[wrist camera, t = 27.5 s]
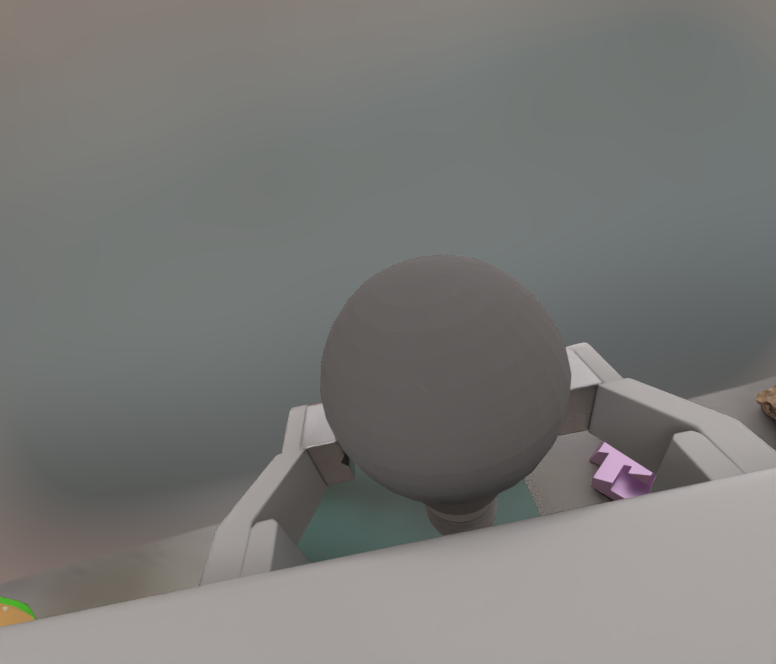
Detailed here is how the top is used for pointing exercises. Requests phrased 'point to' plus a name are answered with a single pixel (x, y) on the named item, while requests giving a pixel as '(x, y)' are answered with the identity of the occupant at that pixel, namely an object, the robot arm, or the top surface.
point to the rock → (768, 401)
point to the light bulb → (445, 385)
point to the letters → (619, 474)
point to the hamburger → (14, 612)
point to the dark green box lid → (385, 518)
